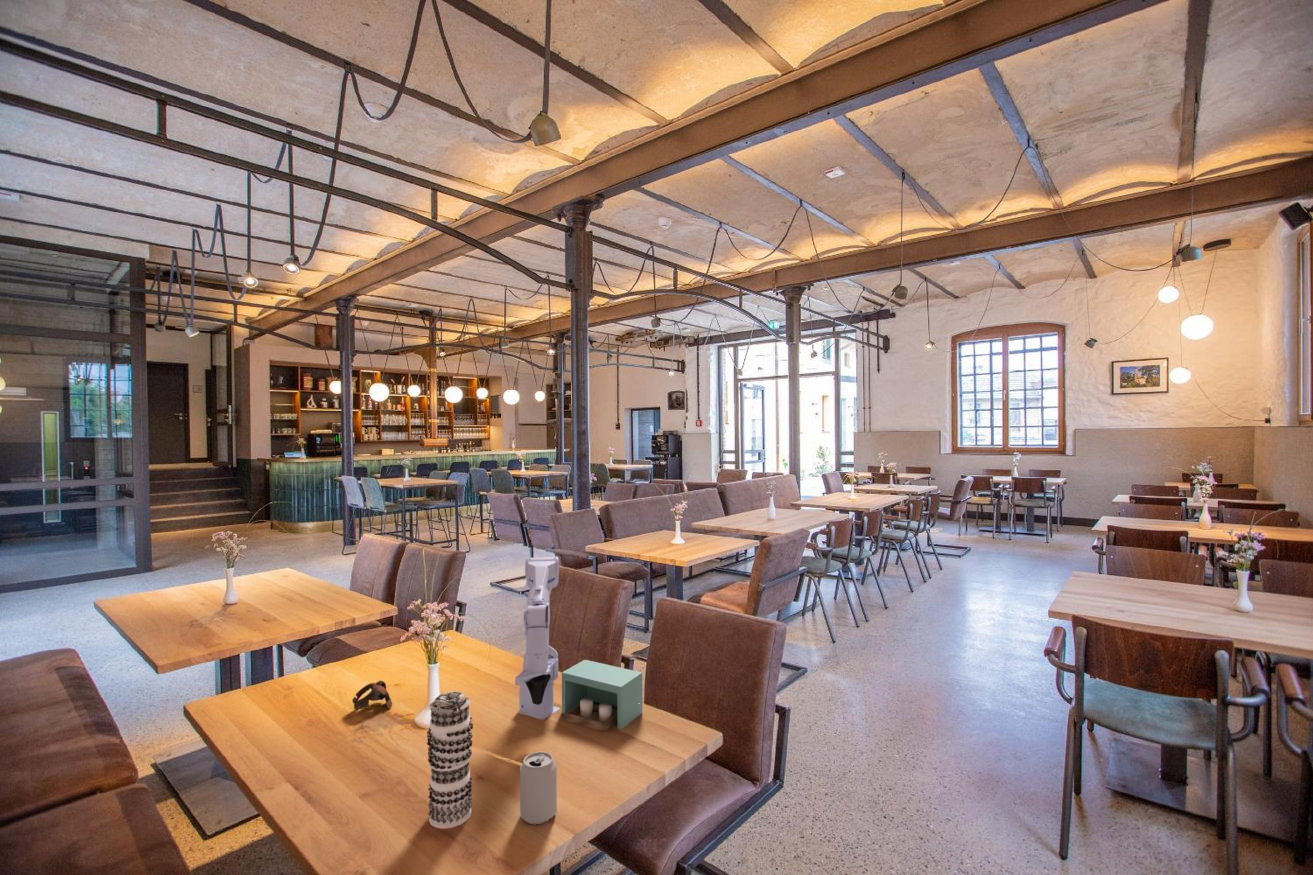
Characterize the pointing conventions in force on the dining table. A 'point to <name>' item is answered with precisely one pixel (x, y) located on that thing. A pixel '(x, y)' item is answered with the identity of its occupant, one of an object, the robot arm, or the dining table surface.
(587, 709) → the cup
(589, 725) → the tray
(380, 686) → the dark brown looped arch
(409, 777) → the dining table surface
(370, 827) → the dining table surface
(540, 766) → the can
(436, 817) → the decorative candle
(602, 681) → the box
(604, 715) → the pale pink cylinder
